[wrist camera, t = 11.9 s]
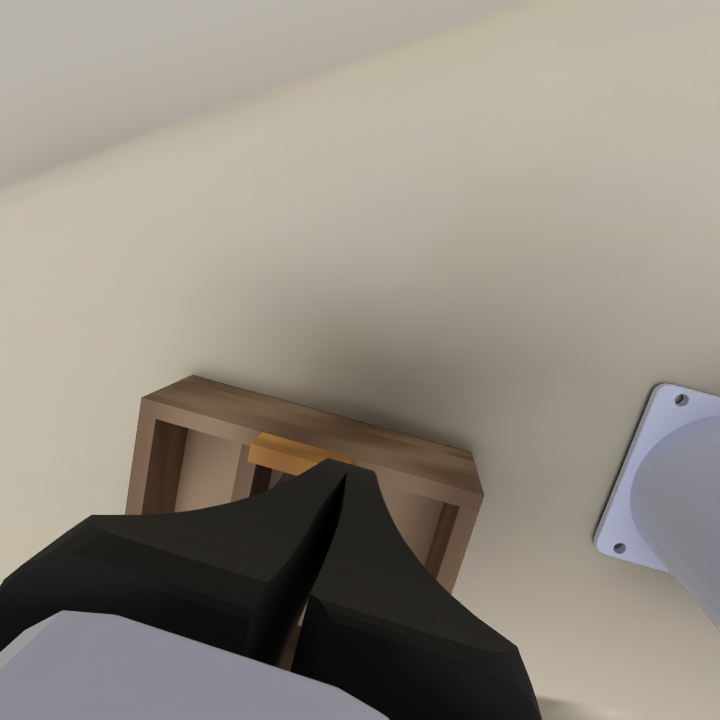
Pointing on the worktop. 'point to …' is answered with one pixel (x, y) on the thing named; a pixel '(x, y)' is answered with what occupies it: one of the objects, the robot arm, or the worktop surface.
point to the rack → (296, 465)
